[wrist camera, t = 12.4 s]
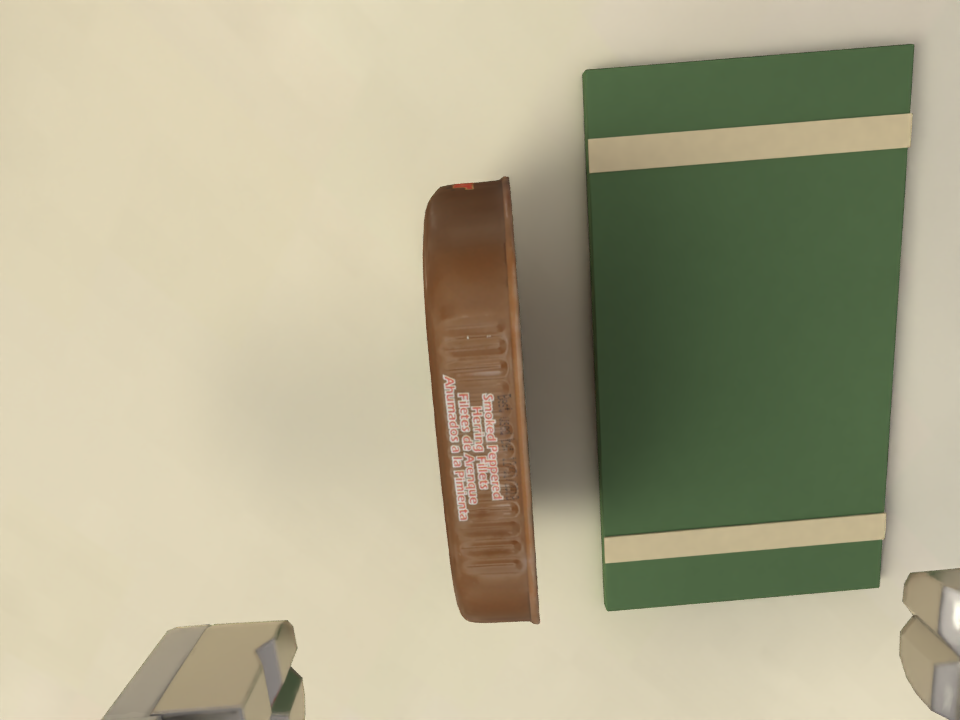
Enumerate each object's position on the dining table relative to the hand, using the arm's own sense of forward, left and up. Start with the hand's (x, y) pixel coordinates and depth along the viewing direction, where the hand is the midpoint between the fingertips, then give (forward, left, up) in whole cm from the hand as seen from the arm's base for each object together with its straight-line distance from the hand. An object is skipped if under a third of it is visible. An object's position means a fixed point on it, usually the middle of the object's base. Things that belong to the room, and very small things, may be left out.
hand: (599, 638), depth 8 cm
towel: (-9, 0, -17) cm, 20 cm away
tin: (+1, +1, -18) cm, 18 cm away
